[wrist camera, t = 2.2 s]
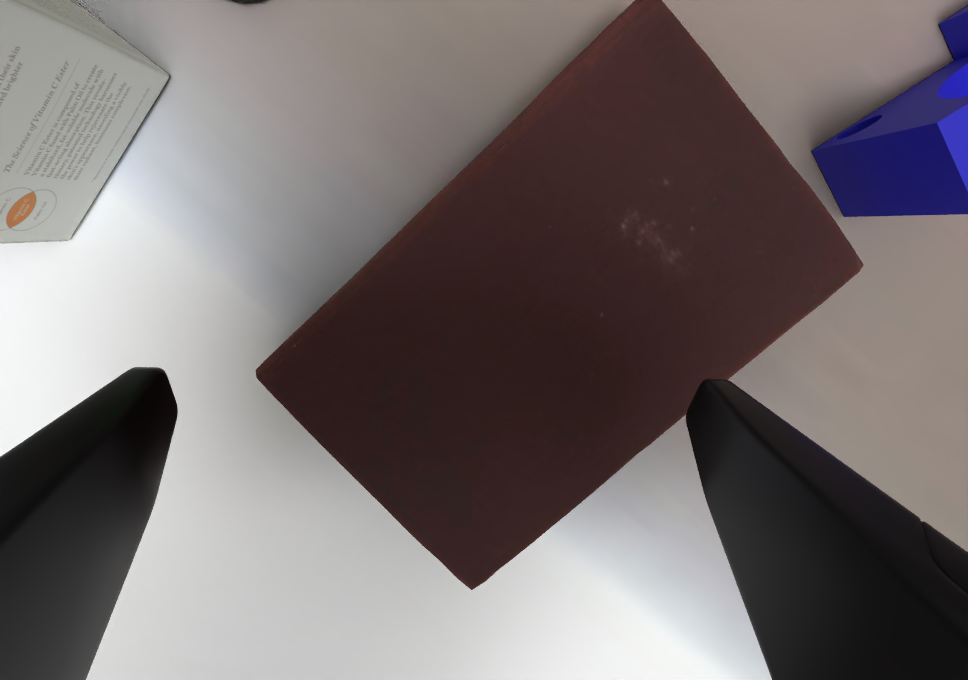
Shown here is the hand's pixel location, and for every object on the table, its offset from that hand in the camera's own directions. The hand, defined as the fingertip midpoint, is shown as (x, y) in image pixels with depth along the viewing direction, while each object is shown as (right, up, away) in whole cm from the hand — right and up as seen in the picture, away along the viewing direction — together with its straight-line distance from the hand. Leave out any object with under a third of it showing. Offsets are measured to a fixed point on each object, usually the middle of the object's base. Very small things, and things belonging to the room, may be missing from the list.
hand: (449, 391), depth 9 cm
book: (+3, +2, +13) cm, 14 cm away
